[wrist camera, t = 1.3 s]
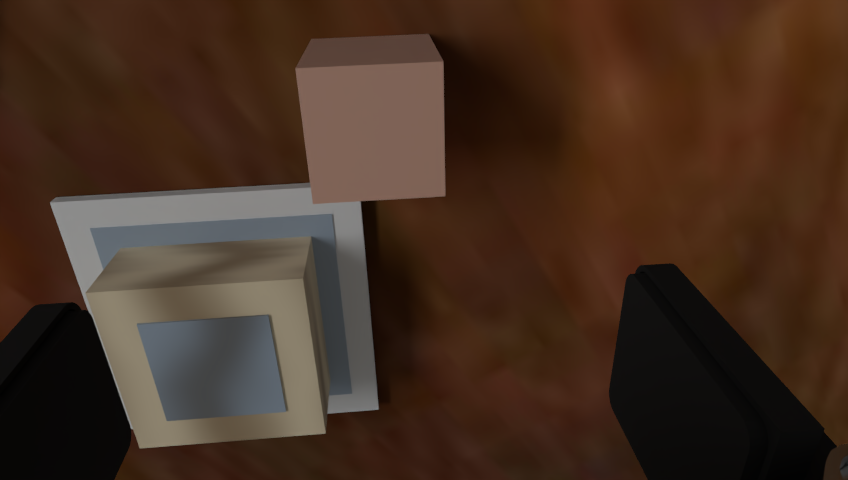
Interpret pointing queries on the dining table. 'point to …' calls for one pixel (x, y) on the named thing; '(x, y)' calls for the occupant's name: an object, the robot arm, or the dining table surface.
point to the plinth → (215, 340)
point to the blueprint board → (236, 221)
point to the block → (373, 118)
